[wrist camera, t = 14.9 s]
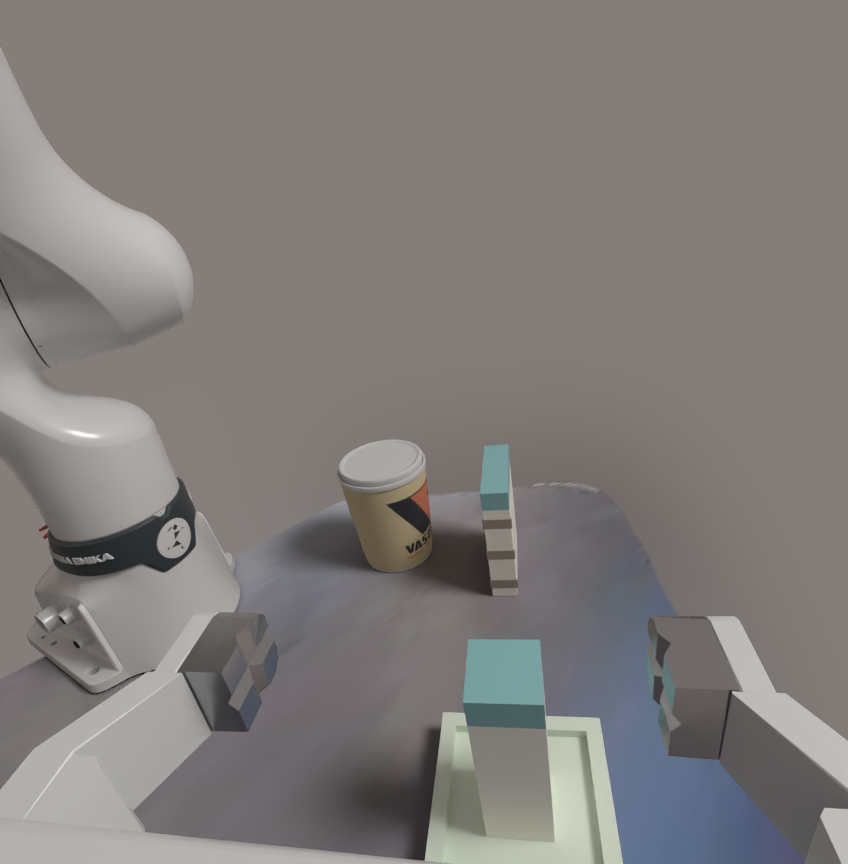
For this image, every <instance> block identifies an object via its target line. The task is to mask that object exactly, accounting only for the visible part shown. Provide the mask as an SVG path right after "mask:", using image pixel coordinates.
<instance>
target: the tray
mask: <svg viewBox="0 0 848 864" xmlns="http://www.w3.org/2000/svg"><path fill="white" fill-rule="evenodd" d="M546 724H547V737H548V750H549V762H550V775H551V790H552V804H553V818H554V833H555V842H543V841H530V840H518V839H505V838H492V837H487V835H486V830H485V824H484V818H483V813H482V807H481V802H480V796H479V790H478V785H477V779H476V773H475V768H474V762H473V757H472V751H471V745H470V740H469V734H468V728H467V723H466V717H465V713H449V712H443V719H442V727H441V735H440V743H439V751H438V759H437V767H436V775H435V783H434V791H433V799H432V807H431V815H430V823H429V831H428V839H427V847H426V855H425V861H432V862H441V863H451V864H623V861H622V855H621V849H620V842H619V836H618V830H617V824H616V818H615V811H614V805H613V799H612V793H611V786H610V780H609V774H608V768H607V762H606V755H605V749H604V743H603V737H602V731H601V724H600V718H584V717H557V716H546Z"/></svg>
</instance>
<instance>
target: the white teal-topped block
mask: <svg viewBox="0 0 848 864" xmlns="http://www.w3.org/2000/svg"><path fill="white" fill-rule="evenodd" d="M463 706H464V712H465V717H466V723H467V728H468V734H469V740H470V745H471V751H472V757H473V762H474V768H475V773H476V779H477V785H478V790H479V796H480V802H481V807H482V813H483V818H484V824H485V830H486V835H487V837H492V838H505V839H518V840H530V841H543V842H555V833H554V818H553V804H552V790H551V775H550V762H549V750H548V737H547V724H546V711H545V699H544V686H543V673H542V661H541V648H540V640H487V639H468V649H467V661H466V673H465V684H464V696H463Z"/></svg>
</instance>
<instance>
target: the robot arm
mask: <svg viewBox="0 0 848 864" xmlns="http://www.w3.org/2000/svg"><path fill="white" fill-rule="evenodd" d="M193 291H194V285H193V276H192V271H191V267H190V264H189V262H188V259H187V257H186V255H185V253H184V251H183V250H182V248H181V246H180V245H179V243H178V242H177V241H176V240H175V238H174V237H173V236H172V235H171V234H170V233H169V232H168V231H167V230H166V229H165V228H164V227H163V226H162V225H161V224H159V223H158V222H157V221H155V220H154V219H152V218H151V217H149V216H147V215H146V214H144V213H141V212H138V211H135V210H132V209H130V208H128V207H125V206H123V205H121V204H119V203H117V202H115V201H113V200H111V199H109V198H108V197H106V196H104V195H103V194H101V193H100V192H98V191H97V190H95V189H94V188H92V187H91V186H90V185H88V184H87V183H86V182H85V181H84V180H82V179H81V178H80V177H79V176H78V175H77V174H75V173H74V172H73V171H72V170H71V169H70V168H69V167H68V166H67V165H66V164H65V163H64V162H63V161H62V159H61V158H60V157H59V156H58V155H57V154H56V152H55V151H54V149H53V148H52V147H51V145H50V144H49V142H48V141H47V139H46V138H45V136H44V135H43V133H42V132H41V130H40V128H39V126H38V124H37V123H36V120H35V119H34V117H33V115H32V113H31V111H30V109H29V107H28V105H27V103H26V101H25V99H24V97H23V95H22V93H21V90H20V88H19V86H18V84H17V82H16V80H15V78H14V76H13V74H12V71H11V69H10V67H9V65H8V62H7V60H6V58H5V56H4V54H3V51H2V49H1V46H0V459H1V460H2V461H3V462H4V463H5V464H6V465H7V466H8V468H9V469H10V470H11V471H12V473H13V474H14V475H15V477H16V478H17V479H18V481H19V482H20V483H21V485H22V486H23V487H24V489H25V491H26V492H27V494H28V495H29V497H30V498H31V500H32V501H33V503H34V504H35V506H36V508H37V509H38V511H39V512H40V514H41V516H42V518H43V519H44V521H45V523H46V524H47V525H46V526H44V527H42V528H41V529H39V531H42V530H45V529H47V528H49V531H48V532H47V533H46V534H45V535H44V536H43V538H44V539H45V538H48V540H49V545H50V547H49V550H50V554H51V555H52V557H53V561H54V562H53V563H52V565H51V566H50V567H49V569H48V570H47V571H46V573H45V574H44V575H43V576H42V578H41V579H40V580H39V582H38V584H37V586H36V589H35V595H36V597H37V599H38V601H39V603H40V605H41V607H42V609H43V610H41V611H40V612H39V613H37V614H36V615H35V616H34V618H35V620H36V622H35V623H34V625H33V626H32V628H31V629H30V630H29V632H28V634H27V637H28V640H29V642H30V643H31V645H33V646H34V647H35V648H36V649H38V650H39V651H40V652H41V653H42V654H44V655H45V656H46V657H47V658H49V659H50V660H51V661H52V662H54V663H55V664H56V665H57V666H59V667H60V668H61V669H62V670H64V671H65V672H66V673H67V674H69V675H70V676H71V677H72V678H73V679H75V680H76V681H77V682H78V683H80V684H81V685H82V686H83V687H85V688H86V689H87V690H88V691H90V692H92V693H99V692H102V691H105V690H107V689H109V688H111V687H113V686H115V685H117V684H119V683H120V682H122V681H124V680H126V679H128V678H129V677H132V676H134V675H137V674H140V673H144V672H147V671H151V670H154V669H156V670H155V671H154V672H147V673H145V674H144V675H142V676H141V677H139V678H138V679H136V680H135V681H133V682H132V683H130V684H129V685H127V686H126V687H124V688H123V689H122V690H120V691H119V692H117V693H116V694H114V695H113V696H111V697H110V698H108V699H107V700H105V701H104V702H102V703H101V704H99V705H98V706H96V707H95V708H93V709H92V710H91V711H89V712H88V713H86V714H85V715H83V716H82V717H80V718H79V719H77V720H76V721H74V722H73V723H71V724H70V725H68V726H67V727H65V728H64V729H62V730H61V731H60V732H58V733H57V734H55V735H54V736H52V737H51V738H49V739H48V740H46V741H45V742H43V743H42V744H40V745H39V746H37V747H36V748H34V749H33V751H32V752H31V753H30V754H29V755H28V757H27V758H26V759H25V760H24V762H23V763H22V764H21V765H20V766H19V768H18V769H17V770H16V771H15V773H14V774H13V775H12V776H11V777H10V779H9V780H8V781H7V782H6V784H5V785H4V786H3V787H2V788H1V790H0V864H451V863H441V862H432V861H422V860H412V859H402V858H392V857H383V856H373V855H363V854H353V853H343V852H333V851H323V850H314V849H304V848H294V847H284V846H274V845H265V844H255V843H245V842H235V841H225V840H216V839H206V838H196V837H186V836H177V835H167V834H157V833H147V832H145V829H144V826H143V824H142V823H141V822H140V820H139V819H138V817H137V816H136V814H135V813H134V811H133V810H134V809H135V808H136V807H137V806H138V805H139V804H140V803H141V802H142V801H143V800H144V799H145V798H147V797H148V796H149V795H150V794H151V793H152V792H153V791H154V790H155V789H156V788H157V787H158V786H159V785H160V784H161V783H162V782H163V781H164V780H165V779H166V778H167V777H168V776H169V775H170V774H171V773H172V772H173V771H174V770H175V769H176V768H177V767H178V766H179V765H180V764H181V763H182V762H183V761H184V760H185V759H186V758H187V757H188V756H189V755H190V754H191V753H192V752H193V751H194V750H195V749H196V748H197V747H198V746H199V745H200V744H201V743H202V742H203V741H204V740H205V739H207V738H208V737H209V736H210V735H211V734H212V732H211V731H236V732H248V731H249V729H250V727H251V725H252V723H253V721H254V718H255V716H256V714H257V712H258V710H259V708H260V706H261V703H262V702H261V698H260V692H262V691H263V690H264V689H265V688H266V687H268V686H269V685H270V684H271V682H272V679H273V677H274V675H275V672H276V667H277V661H278V653H277V646H276V644H275V641H274V639H272V638H271V637H270V636H269V635H268V634H266V633H265V632H266V630H267V628H268V626H269V625H268V622H267V620H266V618H265V616H264V615H263V614H258V613H234V611H235V609H236V607H237V604H238V601H239V597H240V587H239V584H238V582H237V580H236V579H235V577H234V574H233V572H234V568H235V560H234V558H233V556H232V554H230V553H227V552H223V551H222V549H221V547H220V545H219V543H218V542H217V540H216V538H215V536H214V534H213V532H212V530H211V528H210V527H209V525H208V523H207V521H206V519H205V518H204V516H203V515H202V514H201V513H200V512H196V511H195V508H194V505H193V503H192V498H191V495H190V493H189V491H188V490H187V489H186V487H185V485H184V483H183V481H182V480H181V479H180V478H178V477H176V475H175V472H174V470H173V468H172V465H171V463H170V460H169V458H168V455H167V453H166V451H165V448H164V446H163V443H162V441H161V438H160V436H159V434H158V431H157V429H156V426H155V424H154V422H153V420H152V419H151V418H150V416H149V415H148V414H147V413H146V412H145V411H143V410H142V409H141V408H139V407H137V406H136V405H133V404H131V403H129V402H126V401H123V400H119V399H114V398H108V397H100V396H90V395H81V394H75V393H71V392H68V391H65V390H63V389H61V388H59V387H58V386H56V385H55V384H53V383H52V382H51V381H49V379H48V378H47V377H46V376H45V375H44V374H43V371H44V370H46V369H48V368H50V367H52V366H56V365H60V364H64V363H68V362H72V361H76V360H79V359H83V358H87V357H91V356H95V355H99V354H103V353H107V352H110V351H114V350H118V349H122V348H126V347H130V346H134V345H136V344H139V343H141V342H143V341H145V340H148V339H150V338H152V337H154V336H157V335H159V334H161V333H163V332H165V331H167V330H169V329H171V328H173V327H175V326H177V325H179V324H181V323H183V322H184V320H185V318H186V316H187V315H188V312H189V310H190V307H191V304H192V299H193ZM648 634H649V637H650V641H651V644H650V645H648V646H647V649H646V664H647V675H648V680H649V686H650V690H651V694H652V698H653V699H654V700H655V701H656V702H657V703H658V704H659V705H660V709H659V724H660V728H661V731H662V735H663V739H664V742H665V746H666V749H667V753H668V756H676V757H688V758H700V759H712V760H720V762H719V763H720V764H721V765H722V766H723V767H724V769H725V770H726V771H727V772H728V773H729V774H730V775H731V776H732V778H733V779H734V780H735V781H736V782H737V783H738V784H739V786H740V787H741V788H742V789H743V790H744V791H745V792H746V794H747V795H748V796H749V797H750V798H751V799H752V800H753V801H754V803H755V804H756V805H757V806H758V807H759V808H760V809H761V811H762V812H763V813H764V814H765V815H766V816H767V817H768V818H769V820H770V821H771V822H772V823H773V824H774V825H775V826H776V828H777V829H778V830H779V831H780V832H781V833H782V834H783V835H784V837H785V838H786V839H787V840H788V841H789V842H790V843H791V845H792V846H793V847H794V848H795V849H796V850H797V851H798V853H799V854H800V855H801V856H802V857H803V858H804V859H805V862H804V864H848V741H847V740H846V739H844V738H843V737H841V736H840V735H839V734H838V733H837V732H835V731H834V730H832V729H831V728H830V727H829V726H827V725H826V724H825V723H823V722H822V721H821V720H820V719H818V718H817V717H816V716H814V715H813V714H812V713H810V712H809V711H808V710H807V709H805V708H804V707H803V706H801V705H800V704H799V703H797V702H796V701H795V700H794V699H792V698H791V697H790V696H788V695H787V694H786V693H785V694H784V693H776V691H775V690H774V688H773V685H772V683H771V682H770V680H769V678H768V676H767V674H766V672H765V670H764V668H763V666H762V664H761V662H760V660H759V658H758V656H757V654H756V652H755V650H754V648H753V646H752V644H751V642H750V640H749V638H748V636H747V634H746V633H745V630H744V628H743V627H742V625H741V623H740V621H739V620H738V619H737V618H736V617H735V616H733V617H732V616H731V617H730V616H729V617H727V616H724V617H722V616H706V617H704V616H650V618H649V621H648Z"/></svg>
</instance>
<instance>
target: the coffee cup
mask: <svg viewBox="0 0 848 864" xmlns="http://www.w3.org/2000/svg"><path fill="white" fill-rule="evenodd" d="M425 464H426V461H425V456H424V454H423V452H422V451H421V450H420V448H419V447H418V446H417V445H415V444H414V443H411V442H408V441H404V440H383V441H377V442H372V443H369V444H366V445H363V446H361V447H358V448H356V449H354V450H353V451H351V452H349V453H348V454H347V455H346V456H345V457H344V458H343V459H342V460H341V462H340V464H339V469H338V471H337V476H338V480H339V482H340V484H341V485H342V488H343V492H344V495H345V498H346V501H347V504H348V507H349V510H350V513H351V516H352V519H353V522H354V525H355V528H356V531H357V534H358V537H359V539H360V542H361V545H362V548H363V551H364V554H365V556H366V559H367V561H368V563H369V564H370V565H371V566H372V567H373V568H375V569H376V570H379V571H382V572H388V573H396V572H403V571H407V570H410V569H412V568H415V567H417V566H418V565H420V564H421V563H423V562H424V561H425V560H426V559H427V558H428V556H429V555H430V553H431V550H432V531H431V521H430V510H429V499H428V489H427V480H426V471H425Z"/></svg>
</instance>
